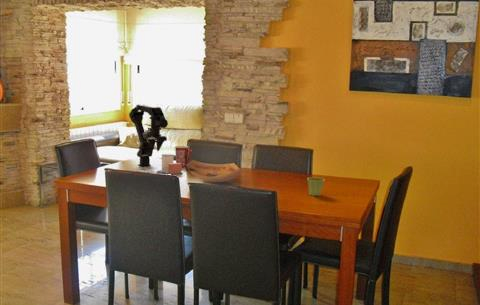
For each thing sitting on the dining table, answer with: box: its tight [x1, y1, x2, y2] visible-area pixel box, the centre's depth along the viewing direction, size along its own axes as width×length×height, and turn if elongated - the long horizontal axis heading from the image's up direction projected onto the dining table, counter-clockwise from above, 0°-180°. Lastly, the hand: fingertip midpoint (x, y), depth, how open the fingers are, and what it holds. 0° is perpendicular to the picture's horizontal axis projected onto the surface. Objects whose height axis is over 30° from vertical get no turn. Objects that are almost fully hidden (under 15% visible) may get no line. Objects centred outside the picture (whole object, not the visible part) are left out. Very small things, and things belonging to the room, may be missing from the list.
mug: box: [174, 145, 194, 168], centre depth 330 cm, size 13×9×14 cm
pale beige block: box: [161, 153, 175, 168], centre depth 308 cm, size 4×6×10 cm
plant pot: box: [306, 176, 326, 197], centre depth 263 cm, size 9×9×9 cm
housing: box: [156, 162, 184, 176], centre depth 307 cm, size 14×10×7 cm
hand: (155, 150), depth 318 cm, fingers open, 6 cm apart
